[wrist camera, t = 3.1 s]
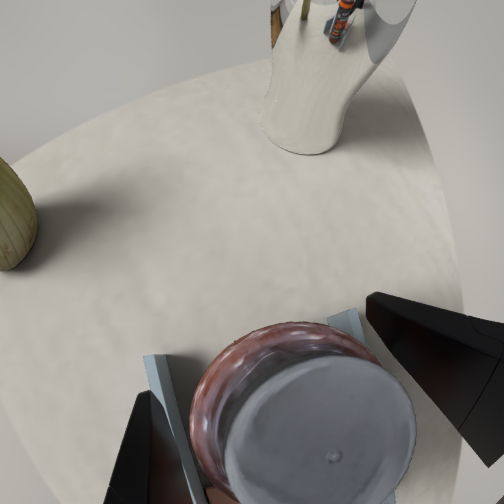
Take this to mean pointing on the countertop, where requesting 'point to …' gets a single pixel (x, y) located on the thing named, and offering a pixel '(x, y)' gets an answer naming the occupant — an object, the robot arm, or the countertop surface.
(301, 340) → the supplement bottle
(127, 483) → the robot arm
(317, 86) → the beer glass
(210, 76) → the countertop surface
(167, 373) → the channel
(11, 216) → the fennel bulb
